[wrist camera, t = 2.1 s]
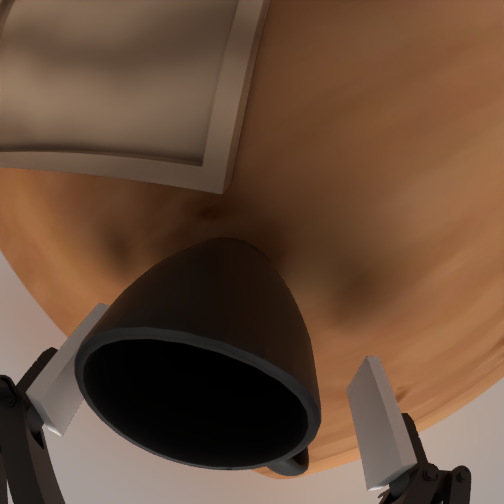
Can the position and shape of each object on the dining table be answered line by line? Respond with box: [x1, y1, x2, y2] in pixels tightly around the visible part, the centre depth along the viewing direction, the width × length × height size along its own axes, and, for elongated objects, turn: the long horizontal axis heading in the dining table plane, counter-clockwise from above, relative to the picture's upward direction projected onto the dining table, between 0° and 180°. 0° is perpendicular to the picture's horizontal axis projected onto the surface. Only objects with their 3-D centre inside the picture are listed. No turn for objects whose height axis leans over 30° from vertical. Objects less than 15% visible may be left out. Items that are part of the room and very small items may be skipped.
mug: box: [74, 238, 321, 476], centre depth 12 cm, size 8×12×10 cm
